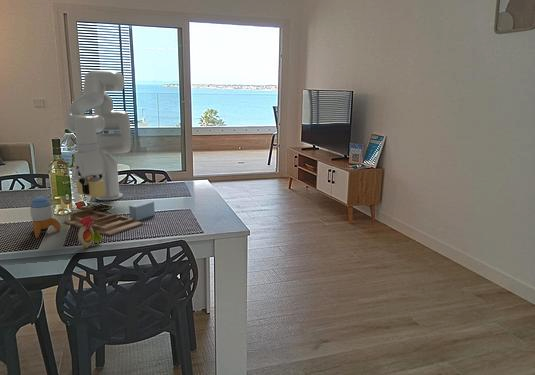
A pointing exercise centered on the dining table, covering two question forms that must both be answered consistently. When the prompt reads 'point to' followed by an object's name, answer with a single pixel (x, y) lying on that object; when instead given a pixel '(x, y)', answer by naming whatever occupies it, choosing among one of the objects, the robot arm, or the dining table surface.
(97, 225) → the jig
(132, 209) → the plank
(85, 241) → the bird rattle
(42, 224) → the toy rocket
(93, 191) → the block
